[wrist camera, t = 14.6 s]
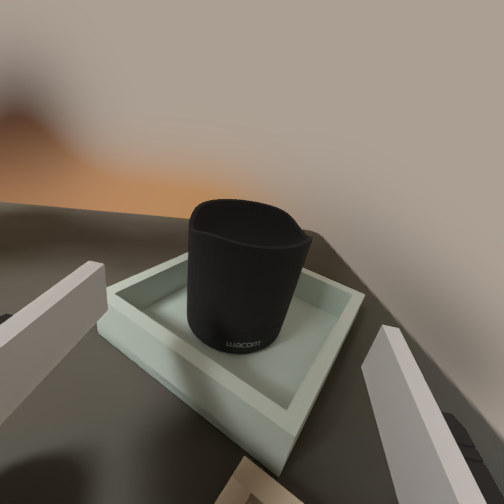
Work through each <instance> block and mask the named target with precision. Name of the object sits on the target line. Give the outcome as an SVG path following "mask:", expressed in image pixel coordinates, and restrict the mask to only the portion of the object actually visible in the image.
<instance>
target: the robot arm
mask: <svg viewBox="0 0 504 504" xmlns="http://www.w3.org/2000/svg"><path fill="white" fill-rule="evenodd" d="M107 311H108V303H107V290H106V277H105V265H104V264H102V263H97V262H93V261H88V262H86V263H85V264H84V265H82V266H81V267H79V268H78V269H77V270H75V271H74V272H73V273H71V274H70V275H68V276H67V277H66V278H64V279H63V280H61V281H60V282H59V283H57V284H56V285H55V286H53V287H52V288H50V289H49V290H48V291H46V292H45V293H44V294H42V295H41V296H39V297H38V298H37V299H35V300H34V301H33V302H31V303H30V304H28V305H27V306H26V307H24V308H23V309H22V310H20V311H19V312H17V313H16V314H15V315H10V314H5V315H2V316H0V425H1V424H2V423H3V422H4V421H5V420H6V419H7V418H8V417H9V415H10V414H11V413H12V412H13V411H14V410H15V409H16V408H17V407H18V406H19V405H20V404H21V403H22V402H23V401H24V399H25V398H26V397H27V396H28V395H29V394H30V393H31V392H32V391H33V390H34V389H35V388H36V387H37V386H38V384H39V383H40V382H41V381H42V380H43V379H44V378H45V377H46V376H47V375H48V374H49V373H50V372H51V371H52V369H53V368H54V367H55V366H56V365H57V364H58V363H59V362H60V361H61V360H62V359H63V358H64V357H65V356H66V354H67V353H68V352H69V351H70V350H71V349H72V348H73V347H74V346H75V345H76V344H77V343H78V342H79V341H80V339H81V338H82V337H83V336H84V335H85V334H86V333H87V332H88V331H89V330H90V329H91V328H92V327H93V326H94V324H95V323H96V322H97V321H98V320H99V319H100V318H101V317H102V316H103V315H104V314H105V313H106V312H107ZM361 368H362V371H363V375H364V379H365V382H366V386H367V390H368V393H369V397H370V400H371V404H372V408H373V411H374V415H375V419H376V422H377V426H378V430H379V433H380V437H381V440H382V444H383V448H384V451H385V455H386V459H387V462H388V466H389V470H390V473H391V477H392V480H393V484H394V488H395V491H396V495H397V499H398V502H399V504H504V498H503V496H502V494H501V492H500V491H499V489H498V487H497V485H496V483H495V482H494V480H493V478H492V476H491V474H490V473H489V471H488V469H487V467H486V465H484V464H483V460H482V458H481V456H480V454H479V453H478V451H477V450H476V449H475V445H474V443H473V442H472V440H471V438H470V436H469V434H468V433H467V431H466V429H465V428H464V427H463V426H462V425H461V424H460V423H459V421H458V420H457V419H456V418H455V417H454V416H453V415H452V414H449V413H444V412H441V411H440V409H439V407H438V405H437V403H436V401H435V399H434V397H433V395H432V393H431V391H430V389H429V387H428V385H427V383H426V381H425V379H424V377H423V375H422V373H421V371H420V369H419V367H418V365H417V363H416V361H415V359H414V357H413V355H412V353H411V351H410V349H409V347H408V345H407V343H406V341H405V339H404V337H403V335H402V333H401V331H400V329H399V328H395V327H390V326H386V325H382V326H381V328H380V330H379V332H378V334H377V336H376V338H375V340H374V342H373V344H372V346H371V348H370V350H369V352H368V354H367V356H366V358H365V360H364V362H363V364H362V366H361Z"/></svg>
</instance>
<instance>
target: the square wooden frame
mask: <svg viewBox="0 0 504 504" xmlns="http://www.w3.org/2000/svg"><path fill="white" fill-rule="evenodd" d="M214 504H304V503H303V502H301V501H300V500H299V499H298V498H296V497H295V496H294V495H293V494H291V493H290V492H289V491H288V490H287V489H285V488H284V487H283V486H282V485H280V484H279V483H278V482H277V481H275V480H274V479H273V478H272V477H271V476H269V475H268V474H267V473H266V472H264V471H263V470H262V469H261V468H259V467H258V466H257V465H256V464H254V463H253V462H252V461H251V460H250V459H248V458H247V457H246V456H245V455H244V457H243V459H242V460H241V462H240V463H239V465H238V467H237V468H236V470H235V471H234V473H233V475H232V476H231V478H230V479H229V481H228V483H227V484H226V486H225V487H224V489H223V491H222V492H221V494H220V495H219V497H218V499H217V500H216V502H215V503H214Z"/></svg>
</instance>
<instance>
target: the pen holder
mask: <svg viewBox="0 0 504 504" xmlns="http://www.w3.org/2000/svg"><path fill="white" fill-rule="evenodd" d="M311 242H312V237H310V236H308V235H306V234H305V233H304V232H303V231H302V230H301V228H300V227H299V226H298V224H297V223H296V222H295V220H294V219H293V218H292V217H291V216H290V215H289V214H288V213H286V212H285V211H283V210H281V209H279V208H277V207H273V206H271V205H267V204H263V203H259V202H253V201H246V200H237V199H218V200H210V201H206V202H203V203H201V204H199V205H198V206H197V207H196V208H195V209H194V211H193V212H192V215H191V217H190V221H189V237H188V272H187V321H188V324H189V327H190V329H191V330H192V332H193V333H194V335H195V336H196V337H197V338H198V339H199V340H201V341H202V342H203V343H204V344H206V345H207V346H209V347H211V348H213V349H216V350H218V351H221V352H225V353H231V354H247V353H253V352H256V351H259V350H261V349H264V348H266V347H267V346H269V345H270V344H272V343H273V342H274V341H275V340H276V338H277V337H278V335H279V333H280V331H281V328H282V325H283V323H284V320H285V317H286V314H287V312H288V309H289V306H290V303H291V300H292V297H293V294H294V291H295V288H296V286H297V283H298V280H299V277H300V274H301V271H302V268H303V265H304V262H305V259H306V256H307V253H308V250H309V247H310V244H311Z"/></svg>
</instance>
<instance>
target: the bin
mask: <svg viewBox="0 0 504 504" xmlns="http://www.w3.org/2000/svg"><path fill="white" fill-rule="evenodd" d="M187 272H188V252H187V253H185V254H183V255H180V256H178V257H176V258H173V259H171V260H169V261H167V262H164V263H162V264H160V265H157V266H155V267H153V268H151V269H148V270H146V271H144V272H141V273H139V274H137V275H134V276H132V277H130V278H128V279H125V280H123V281H121V282H118V283H116V284H114V285H111V286H109V287H107V288H106V290H107V303H108V311H107V312H106V313H105V314H104V315H103V316H102V317H101V318H100V319H99V320H98V321H97V329H98V333H99V334H100V335H101V336H103V337H104V338H105V339H106V340H108V341H109V342H110V343H111V344H113V345H114V346H115V347H116V348H118V349H119V350H120V351H121V352H123V353H124V354H125V355H126V356H128V357H129V358H130V359H131V360H133V361H134V362H135V363H136V364H138V365H139V366H140V367H141V368H142V369H144V370H145V371H146V372H147V373H149V374H150V375H151V376H152V377H154V378H155V379H156V380H157V381H159V382H160V383H161V384H162V385H164V386H165V387H166V388H167V389H169V390H170V391H171V392H172V393H174V394H175V395H176V396H177V397H179V398H180V399H181V400H182V401H184V402H185V403H186V404H187V405H189V406H190V407H191V408H192V409H194V410H195V411H196V412H197V413H199V414H200V415H201V416H202V417H204V418H205V419H206V420H207V421H209V422H210V423H211V424H212V425H214V426H215V427H216V428H217V429H219V430H220V431H221V432H222V433H224V434H225V435H226V436H227V437H228V438H230V439H231V440H232V441H233V442H235V443H236V444H237V445H238V446H240V447H241V448H242V449H243V450H245V451H246V452H247V453H248V454H250V455H251V456H252V457H253V458H255V459H256V460H257V461H258V462H260V463H261V464H262V465H263V466H265V467H266V468H267V469H268V470H270V471H271V472H272V473H273V474H275V475H276V476H277V477H278V478H279V476H280V474H281V472H282V470H283V468H284V466H285V464H286V462H287V460H288V457H289V455H290V453H291V451H292V449H293V447H294V445H295V443H296V441H297V439H298V437H299V435H300V433H301V430H302V428H303V426H304V424H305V422H306V420H307V418H308V416H309V414H310V412H311V410H312V408H313V405H314V403H315V401H316V399H317V397H318V395H319V393H320V391H321V389H322V387H323V385H324V383H325V381H326V378H327V376H328V374H329V372H330V370H331V368H332V366H333V364H334V362H335V360H336V358H337V356H338V353H339V351H340V349H341V347H342V345H343V343H344V341H345V339H346V337H347V335H348V333H349V331H350V329H351V326H352V324H353V322H354V320H355V317H356V315H357V313H358V310H359V308H360V306H361V303H362V301H363V299H364V296H365V294H363V293H360V292H358V291H356V290H353V289H351V288H349V287H347V286H344V285H342V284H340V283H337V282H335V281H333V280H330V279H328V278H326V277H324V276H321V275H319V274H317V273H314V272H312V271H310V270H307V269H305V268H302V271H301V274H300V277H299V280H298V283H297V286H296V288H295V291H294V294H293V297H292V300H291V303H290V306H289V309H288V312H287V314H286V317H285V320H284V323H283V325H282V328H281V331H280V333H279V335H278V337H277V338H276V340H275V341H274V342H273V343H272V344H270V345H269V346H267V347H266V348H264V349H261V350H259V351H256V352H253V353H247V354H231V353H225V352H221V351H218V350H216V349H213V348H211V347H209V346H207V345H206V344H204V343H203V342H202V341H201V340H199V339H198V338H197V337H196V336H195V335H194V333H193V332H192V330H191V329H190V327H189V324H188V321H187Z"/></svg>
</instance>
